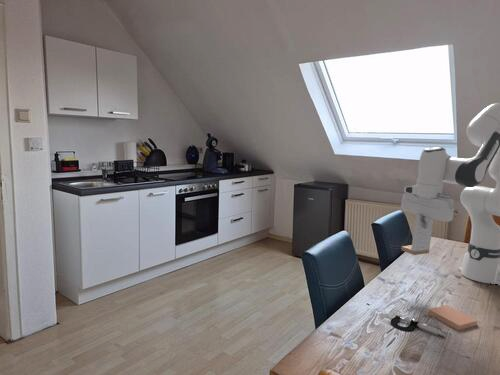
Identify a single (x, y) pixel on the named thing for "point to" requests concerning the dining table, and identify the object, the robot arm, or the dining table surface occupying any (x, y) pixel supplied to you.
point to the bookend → (419, 237)
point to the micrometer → (415, 326)
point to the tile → (453, 317)
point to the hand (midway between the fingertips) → (423, 227)
